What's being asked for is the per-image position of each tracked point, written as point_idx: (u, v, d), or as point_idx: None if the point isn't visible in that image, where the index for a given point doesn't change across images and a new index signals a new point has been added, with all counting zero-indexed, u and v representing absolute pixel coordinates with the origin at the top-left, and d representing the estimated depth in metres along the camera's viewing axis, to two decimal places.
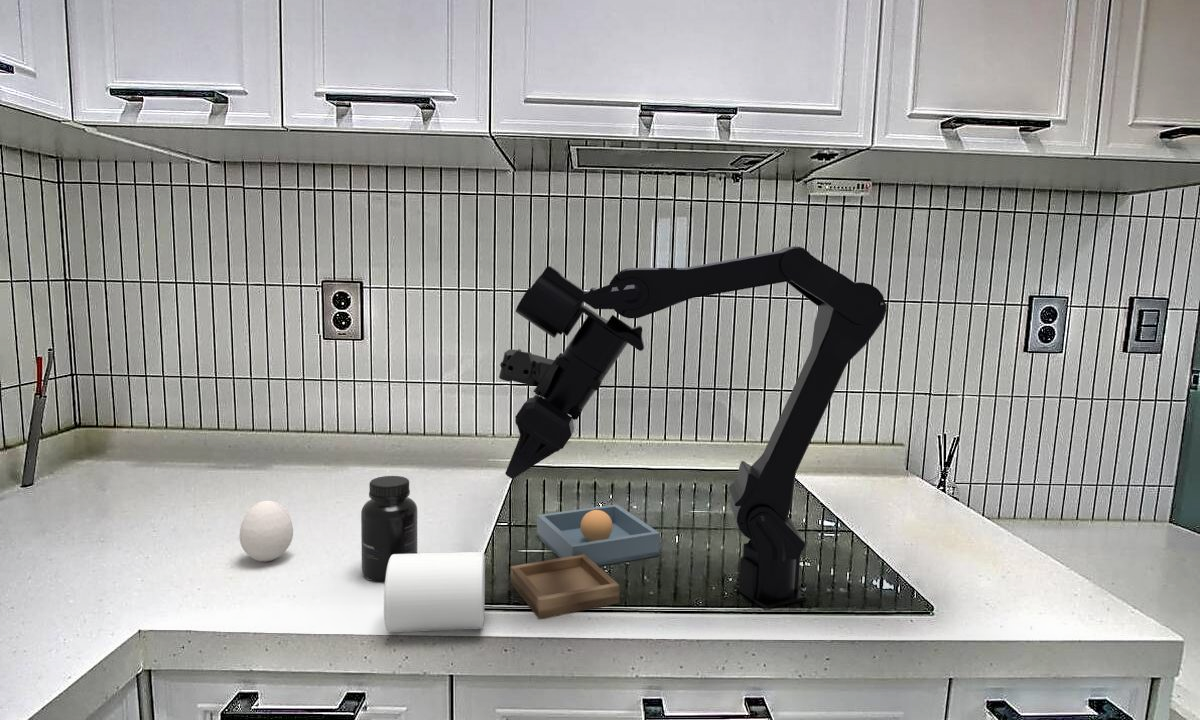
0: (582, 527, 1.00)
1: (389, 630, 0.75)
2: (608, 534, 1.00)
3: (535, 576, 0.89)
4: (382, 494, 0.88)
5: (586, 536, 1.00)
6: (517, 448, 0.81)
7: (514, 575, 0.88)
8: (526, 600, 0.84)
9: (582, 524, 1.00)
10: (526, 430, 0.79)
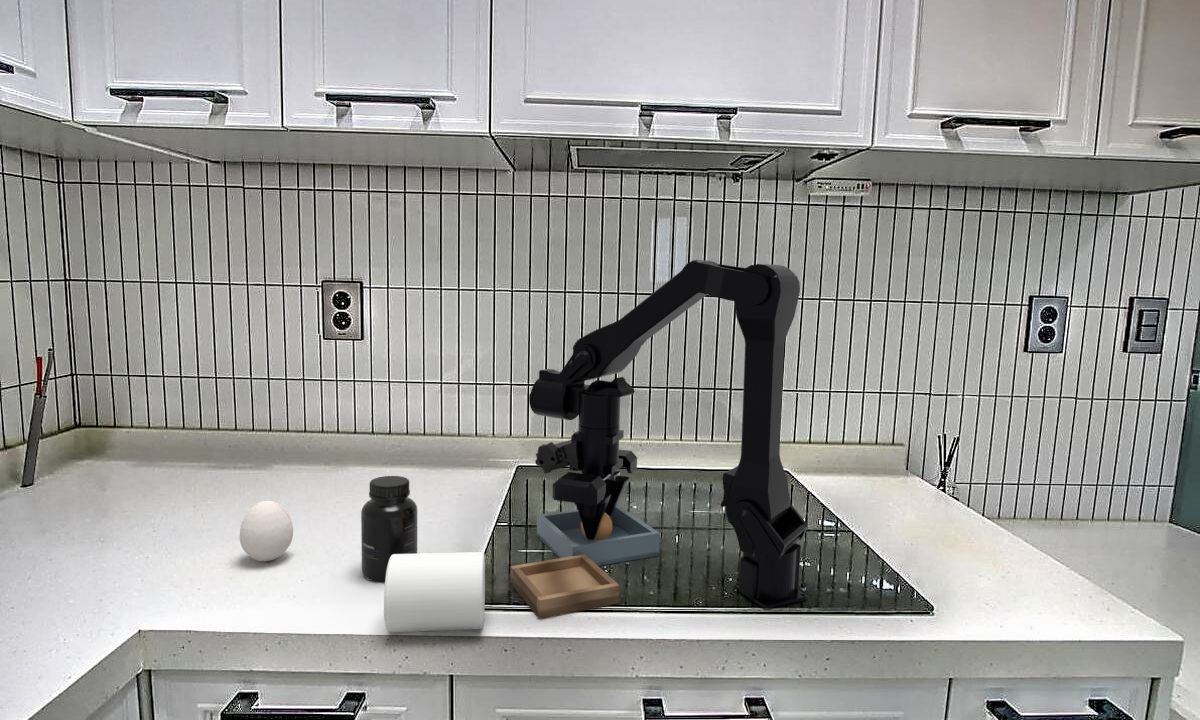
0: (582, 527, 1.00)
1: (389, 630, 0.75)
2: (608, 534, 1.00)
3: (535, 576, 0.89)
4: (382, 494, 0.88)
5: None
6: (581, 515, 0.98)
7: (514, 575, 0.88)
8: (526, 600, 0.84)
9: None
10: None
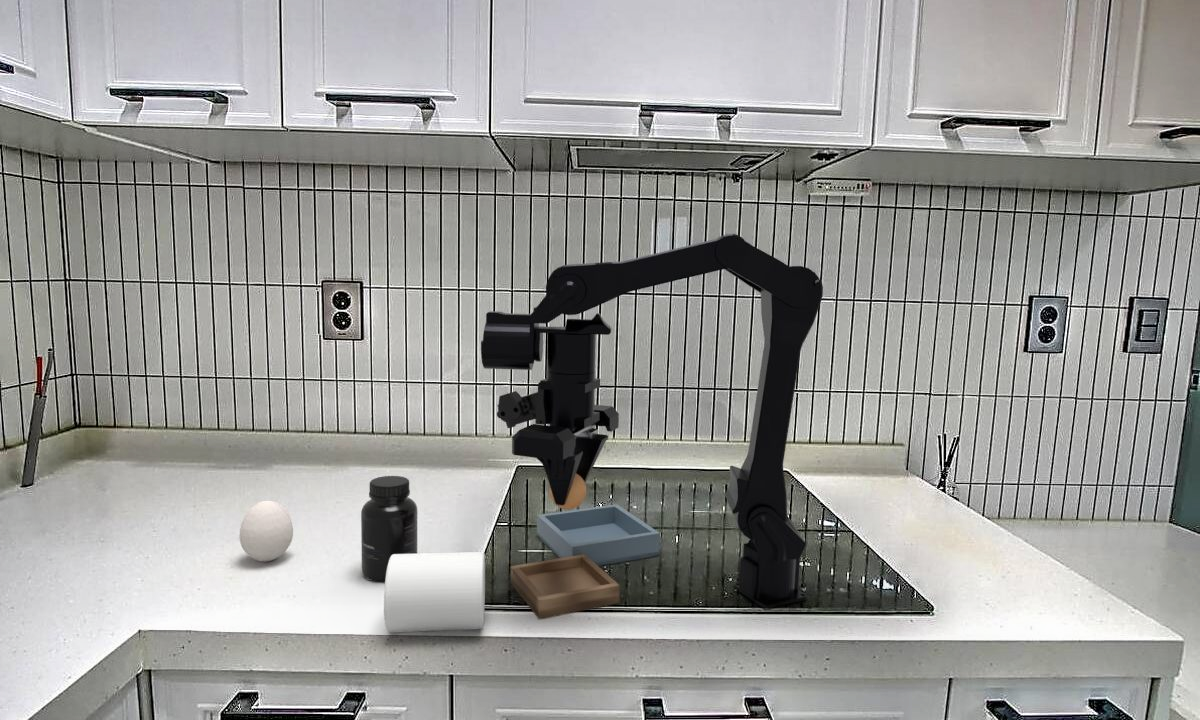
0: (550, 491, 0.86)
1: (389, 630, 0.75)
2: (581, 499, 0.86)
3: (535, 576, 0.89)
4: (382, 494, 0.88)
5: None
6: (548, 475, 0.84)
7: (514, 575, 0.88)
8: (526, 600, 0.84)
9: None
10: None
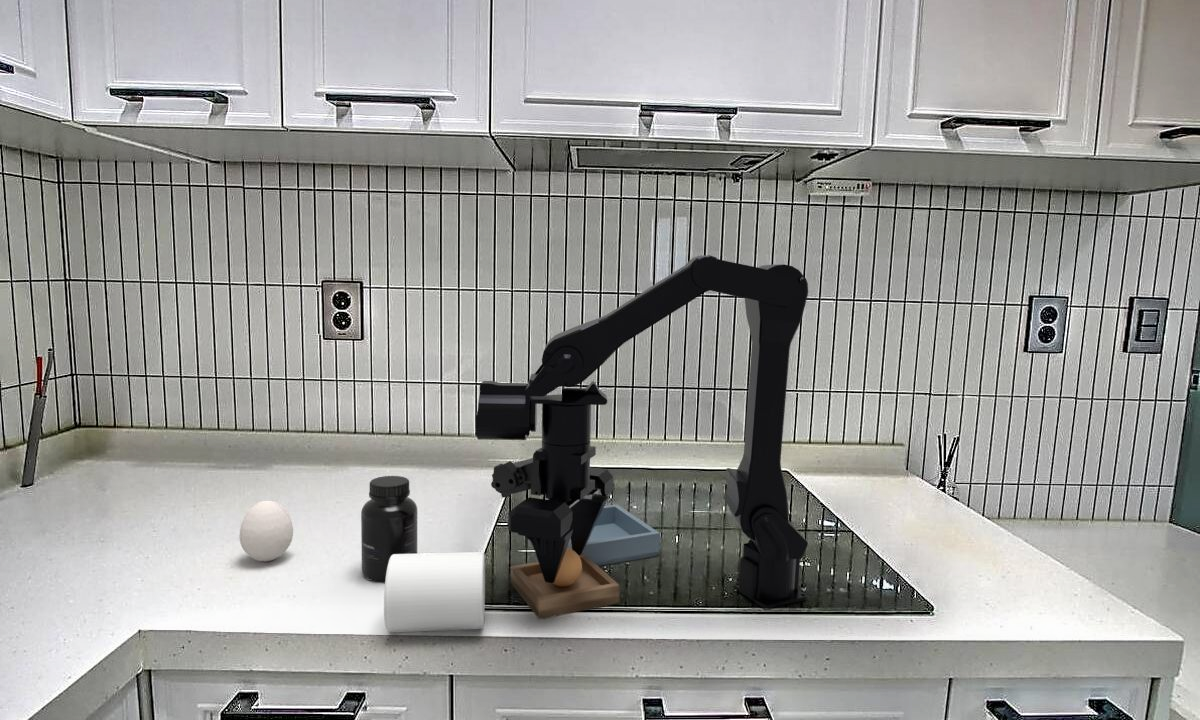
0: None
1: (389, 630, 0.75)
2: (576, 577, 0.85)
3: (535, 576, 0.89)
4: (382, 494, 0.88)
5: None
6: (537, 553, 0.81)
7: (514, 575, 0.88)
8: (526, 600, 0.84)
9: None
10: (527, 534, 0.79)
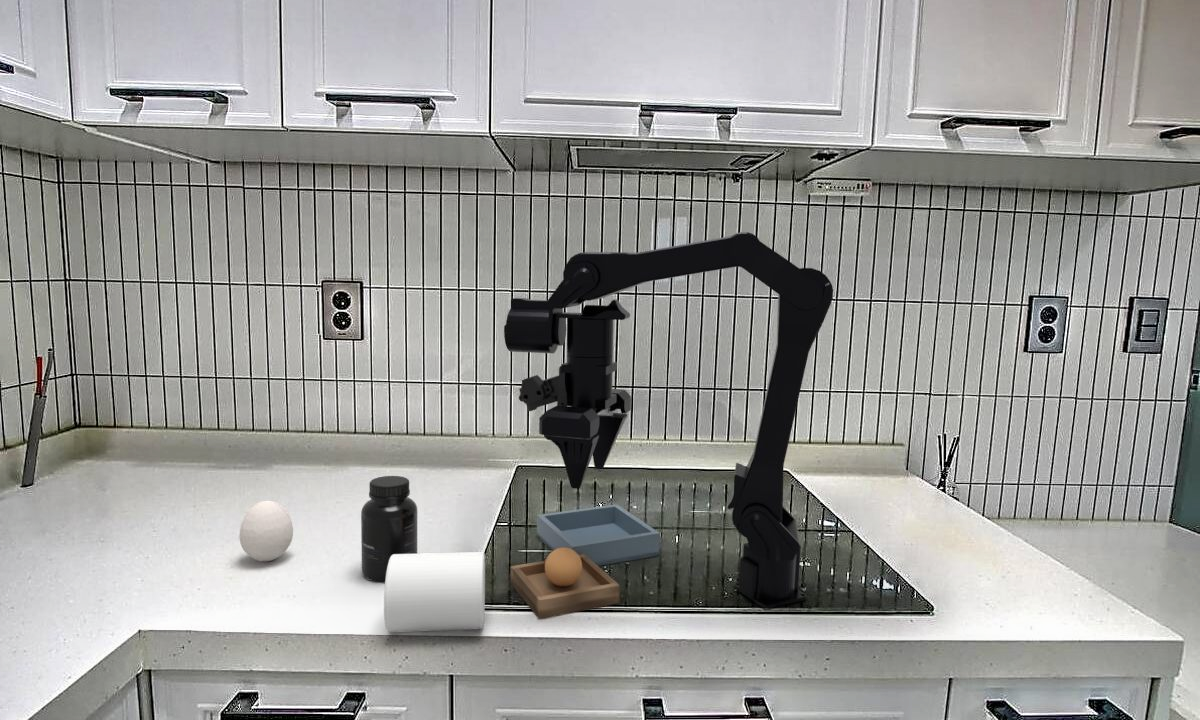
0: (546, 568, 0.85)
1: (389, 630, 0.75)
2: (577, 577, 0.85)
3: (535, 576, 0.89)
4: (382, 494, 0.88)
5: (551, 579, 0.85)
6: (564, 459, 0.85)
7: (514, 575, 0.88)
8: (526, 600, 0.84)
9: (547, 564, 0.85)
10: (556, 439, 0.83)
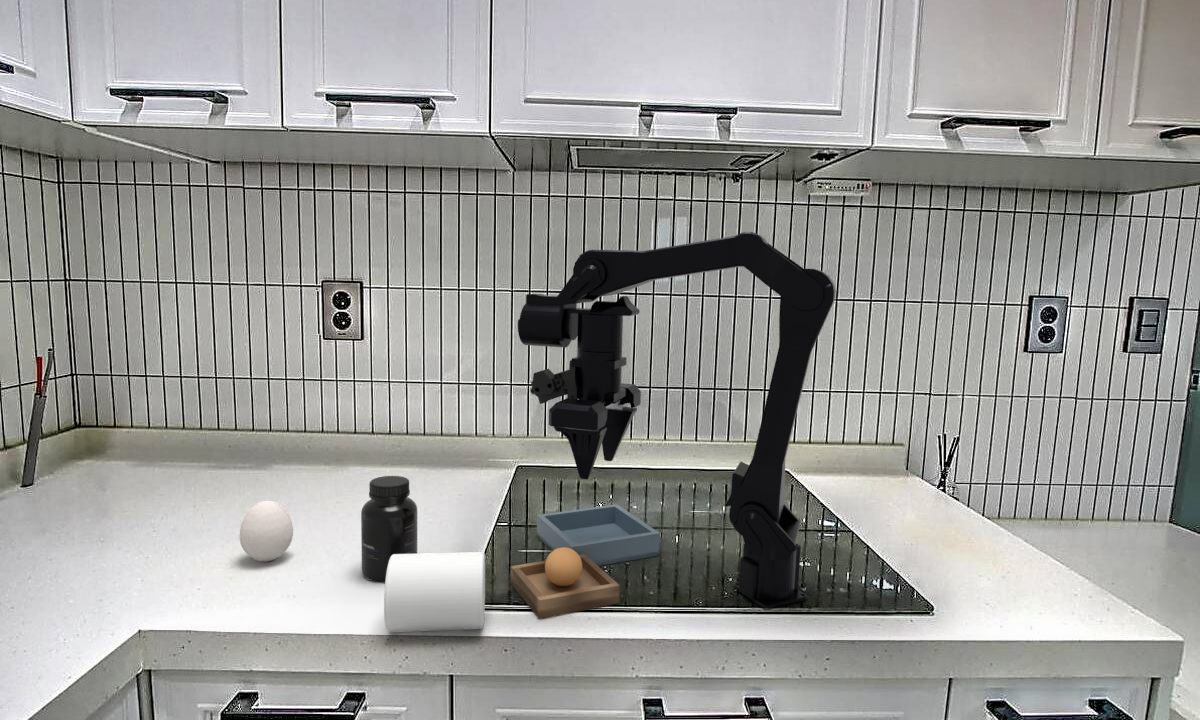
0: (546, 568, 0.86)
1: (389, 630, 0.75)
2: (577, 576, 0.85)
3: (535, 576, 0.89)
4: (382, 494, 0.88)
5: (551, 578, 0.85)
6: (573, 450, 0.88)
7: (514, 575, 0.88)
8: (526, 600, 0.84)
9: (547, 564, 0.85)
10: (565, 430, 0.86)
